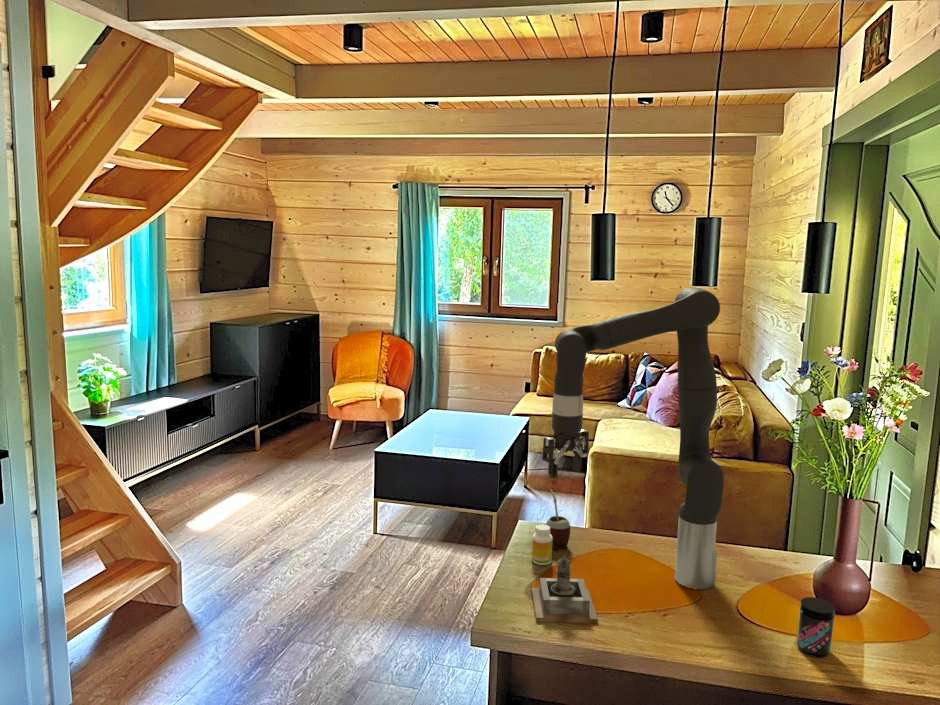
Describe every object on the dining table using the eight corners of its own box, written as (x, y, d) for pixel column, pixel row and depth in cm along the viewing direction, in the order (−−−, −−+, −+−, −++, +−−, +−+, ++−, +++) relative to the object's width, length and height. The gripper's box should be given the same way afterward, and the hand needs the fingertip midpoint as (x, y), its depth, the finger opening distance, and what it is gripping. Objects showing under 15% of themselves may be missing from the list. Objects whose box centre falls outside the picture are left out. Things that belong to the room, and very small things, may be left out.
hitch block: (588, 592, 179) (589, 575, 178) (597, 623, 165) (598, 604, 165) (531, 591, 179) (532, 574, 178) (536, 621, 165) (536, 603, 165)
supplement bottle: (552, 565, 193) (553, 531, 192) (532, 565, 193) (533, 530, 192) (550, 556, 199) (552, 523, 197) (531, 556, 199) (532, 522, 197)
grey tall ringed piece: (577, 598, 174) (578, 551, 172) (572, 610, 169) (574, 562, 167) (552, 594, 176) (554, 548, 174) (547, 606, 170) (549, 558, 168)
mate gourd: (563, 553, 201) (565, 502, 198) (537, 547, 205) (539, 496, 202) (574, 544, 207) (576, 494, 205) (548, 537, 211) (550, 488, 208)
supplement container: (789, 644, 158) (793, 600, 156) (811, 638, 161) (816, 594, 159) (814, 661, 152) (819, 615, 150) (837, 654, 154) (842, 609, 153)
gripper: (558, 418, 171) (556, 484, 174) (598, 410, 180) (595, 472, 183) (536, 412, 177) (534, 475, 180) (575, 404, 186) (573, 464, 189)
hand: (565, 474), depth 181 cm, fingers open, 8 cm apart
